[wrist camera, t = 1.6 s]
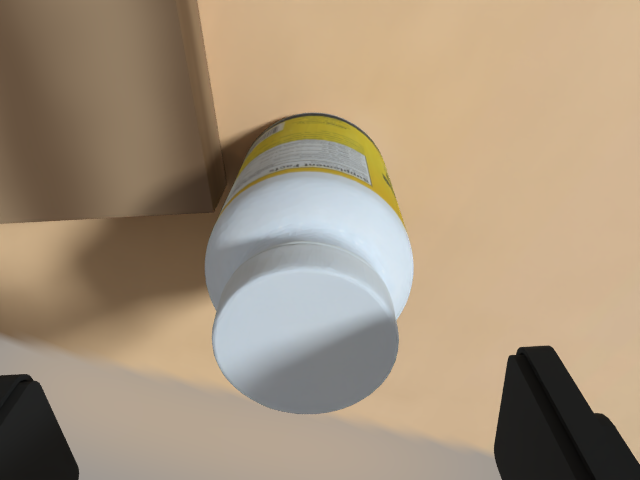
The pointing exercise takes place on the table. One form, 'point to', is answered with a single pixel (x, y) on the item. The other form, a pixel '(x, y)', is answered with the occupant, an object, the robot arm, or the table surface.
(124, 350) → the table surface
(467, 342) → the table surface
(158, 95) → the walnut block
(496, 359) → the table surface
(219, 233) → the pill bottle
